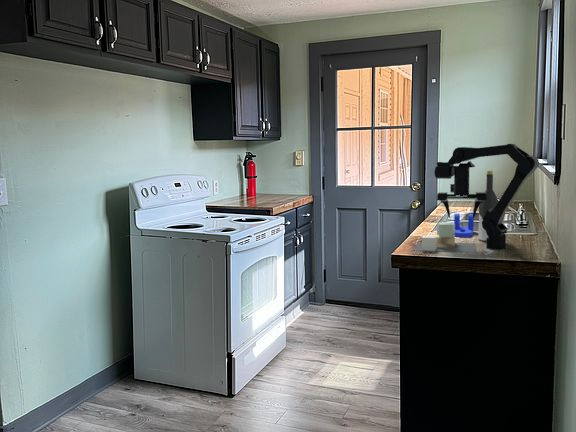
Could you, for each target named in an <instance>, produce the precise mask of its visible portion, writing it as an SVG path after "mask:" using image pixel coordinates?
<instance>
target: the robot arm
mask: <svg viewBox="0 0 576 432" xmlns="http://www.w3.org/2000/svg"><path fill="white" fill-rule="evenodd" d="M502 155H504V156H505V155H508V156H509V157H510V159H511V160H513V161H514V163H515V164H517V165H516V168H515V172H514V175H513V177H512V178H511V181H510V182H509V184H508V185H507V187H506V189H505V190H504V192H503V193H502V195H501V197H500V199H498V203H497V205H496V207H495V208H494V209H489V210H487V211H486V214H485V216H484V217H483V218H482V219H483V221H482V227H483V228H484V229H485V230H486V233H487V236H488V238H486V242H485V248H486V250H487V249H489V250H498V251H499V250H506V247H507V246H506V245H507V243H506V242H507V241H506V240H507V235H506V234H507V232H508V230H509V228H508V227H507V226H506V225H505V224H504V223H503V221H504V219H505V217H506V216H505V215H506V212H507V210H508V208H509V207H510V205H511V204H512V202H513V200H514V199H515V198H516V196H517V194H518V192H519V191H520V189H521V188H522V186H523V184H524V183H525V182H526V180H527V179H529V177H530V176H531V175H532V174H533V173H535V171H536V170H537V169H538V168H539V165H540V161H539V159H538V157H536V156H534V155H530V154H529V153H527V152H526V151H525V150H523V149H521V148H520V147H518V146H517V145H516V144H515V143H507V144H503V145H502V144H501V145H493V146H485V147H484V146H483V147H472V146H469V147H468V146H461V147H460V146H459V147H456V148H454V149H453V151H452V155H451V157H450V159H449V160H448V161H447V162H444V161H437V162H436V165H435V169H434V177H435V179H445V180H446V179H447V180H448V179H450V180H451V179H452V178H453V182H454V183H451V184H449V185H450V191H449V192H450V193H449V194H448V191H447V192H444V191H443V192H440V191H439V192H438V193H437V194H436V201H440V203H442V204H443V206H444V208H445V210H446V213H447V216H448V218H449V219H450V218H451V212H450V205H449V200H448V199H450V200H451V199H453V200H455V199H463V200H464V199H467V200H469V199H472V200H473V199H474V204H473V211H472V214H473V218H474V219H475V216H476V214H477V212H478V210H479V205H480V203H483V200H487V194H486V193H485V191H484V192H483V191H479V192H478V191H475V193H470V168H475V167H476V165H475V164H474V163H473V162H472V160H475V159H477V158H478V159H479V158H481V157H482V158H483V157H492V156H502Z"/></svg>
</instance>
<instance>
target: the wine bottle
mask: <svg viewBox="0 0 576 432" xmlns="http://www.w3.org/2000/svg"><path fill="white" fill-rule="evenodd" d="M493 188H494V174H493V170H487V172H486V189H485V191H484V192H485V193H486V194H487V200H483V203H480V205H479V207H478V241H480V242H484V243H486V238H488V236H487V233H486V230H485V229H484V228H483V227H482V221H483V219H482V218H483V217H484V216H485V214H486V211H487V210H489V209H494V208H495V207H496V205H497V203H498V202H499V199H498V197H497V195H496V193H495V190H494V189H493Z"/></svg>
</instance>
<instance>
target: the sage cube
mask: <svg viewBox="0 0 576 432" xmlns="http://www.w3.org/2000/svg"><path fill="white" fill-rule="evenodd" d="M438 224H439V237H452V225H453V224H454V222H439V223H438Z"/></svg>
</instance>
